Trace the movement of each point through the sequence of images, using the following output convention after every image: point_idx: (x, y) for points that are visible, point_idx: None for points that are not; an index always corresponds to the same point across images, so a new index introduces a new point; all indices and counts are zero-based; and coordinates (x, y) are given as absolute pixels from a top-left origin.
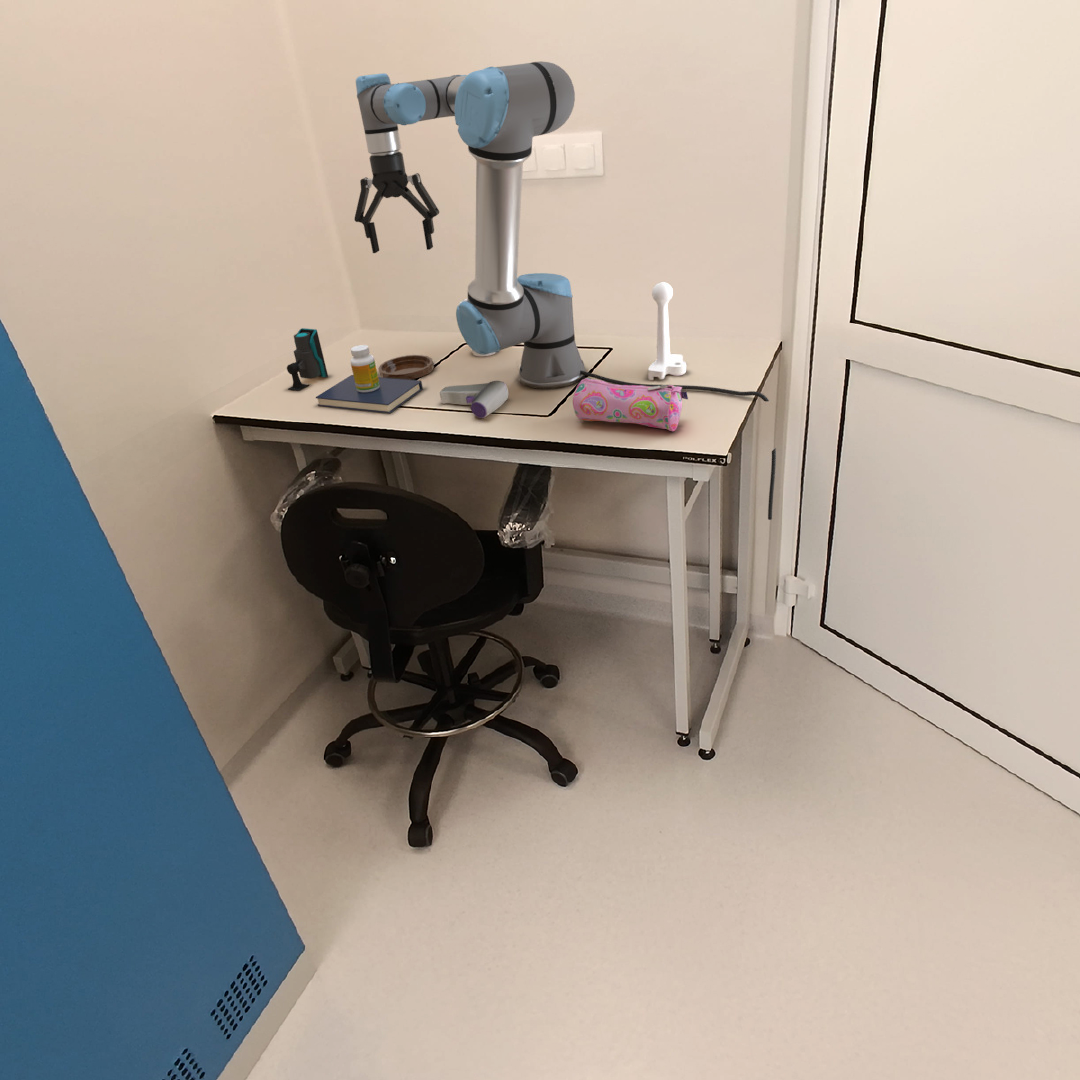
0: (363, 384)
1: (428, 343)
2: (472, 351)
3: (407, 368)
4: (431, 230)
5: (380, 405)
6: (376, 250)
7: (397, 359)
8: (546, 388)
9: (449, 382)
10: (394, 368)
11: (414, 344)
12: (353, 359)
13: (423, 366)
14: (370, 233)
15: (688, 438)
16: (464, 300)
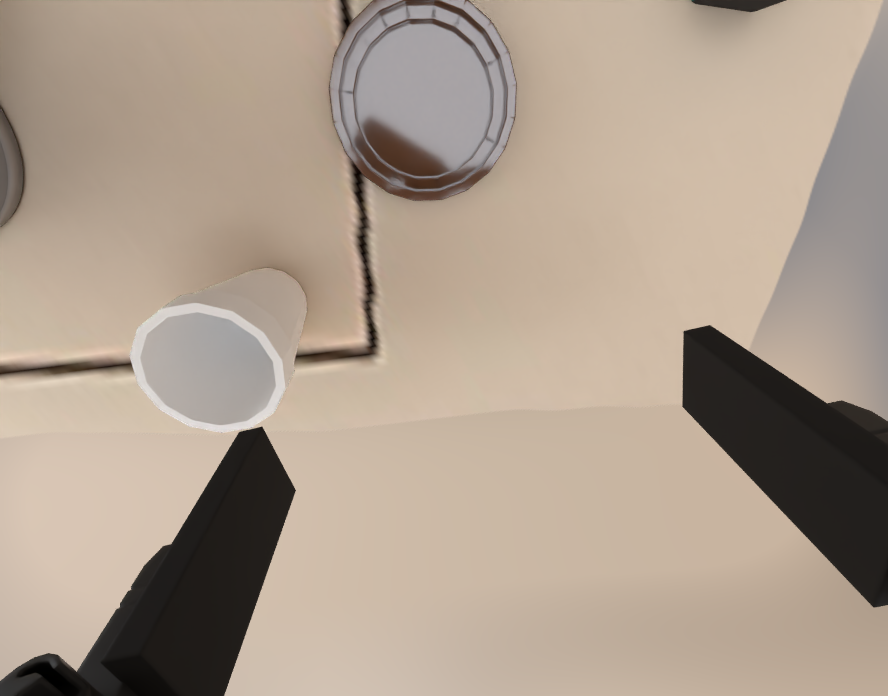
0: None
1: (481, 341)
2: (293, 281)
3: (432, 125)
4: (148, 574)
5: None
6: (691, 360)
7: (486, 159)
8: None
9: (211, 23)
10: (478, 117)
11: (520, 328)
12: None
13: (388, 152)
14: (826, 420)
15: None
16: (276, 377)
